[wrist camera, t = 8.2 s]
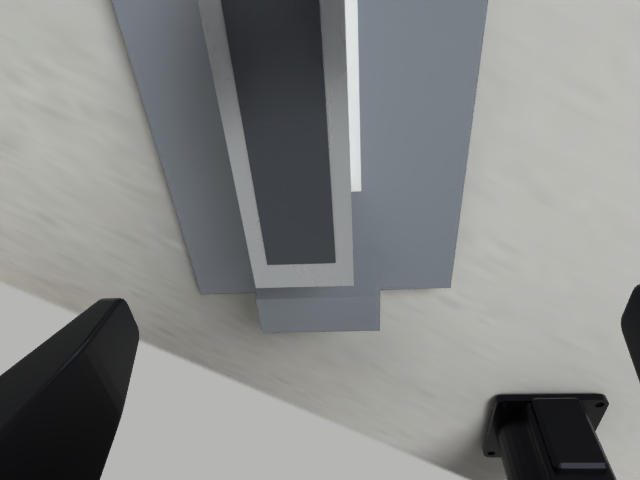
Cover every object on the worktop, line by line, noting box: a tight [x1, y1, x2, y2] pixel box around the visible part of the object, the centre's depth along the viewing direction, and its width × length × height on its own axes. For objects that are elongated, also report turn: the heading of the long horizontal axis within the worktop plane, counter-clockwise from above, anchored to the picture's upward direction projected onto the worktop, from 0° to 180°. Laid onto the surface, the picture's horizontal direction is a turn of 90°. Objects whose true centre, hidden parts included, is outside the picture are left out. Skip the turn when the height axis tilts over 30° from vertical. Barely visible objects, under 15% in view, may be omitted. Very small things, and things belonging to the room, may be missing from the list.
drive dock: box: [112, 0, 488, 333], centre depth 15 cm, size 22×12×5 cm, turn 4°
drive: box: [197, 0, 354, 288], centre depth 14 cm, size 10×3×6 cm, turn 4°
